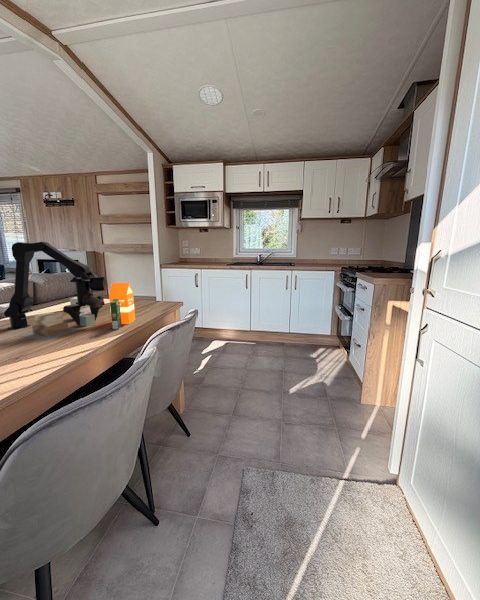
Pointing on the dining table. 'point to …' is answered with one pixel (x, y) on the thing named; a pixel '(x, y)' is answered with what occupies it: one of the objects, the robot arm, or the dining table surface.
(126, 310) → the orange juice
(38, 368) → the dining table surface
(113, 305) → the coffee box
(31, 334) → the slate mat
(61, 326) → the walnut slab
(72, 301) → the ink cartridge box
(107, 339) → the dining table surface
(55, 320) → the birch block
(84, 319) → the sage cube
